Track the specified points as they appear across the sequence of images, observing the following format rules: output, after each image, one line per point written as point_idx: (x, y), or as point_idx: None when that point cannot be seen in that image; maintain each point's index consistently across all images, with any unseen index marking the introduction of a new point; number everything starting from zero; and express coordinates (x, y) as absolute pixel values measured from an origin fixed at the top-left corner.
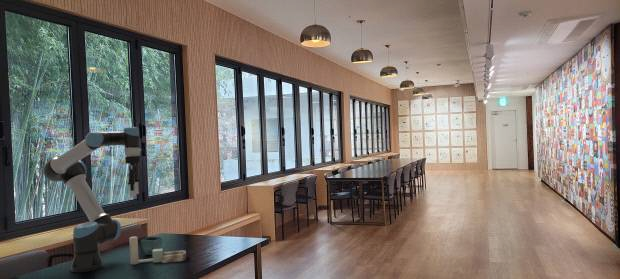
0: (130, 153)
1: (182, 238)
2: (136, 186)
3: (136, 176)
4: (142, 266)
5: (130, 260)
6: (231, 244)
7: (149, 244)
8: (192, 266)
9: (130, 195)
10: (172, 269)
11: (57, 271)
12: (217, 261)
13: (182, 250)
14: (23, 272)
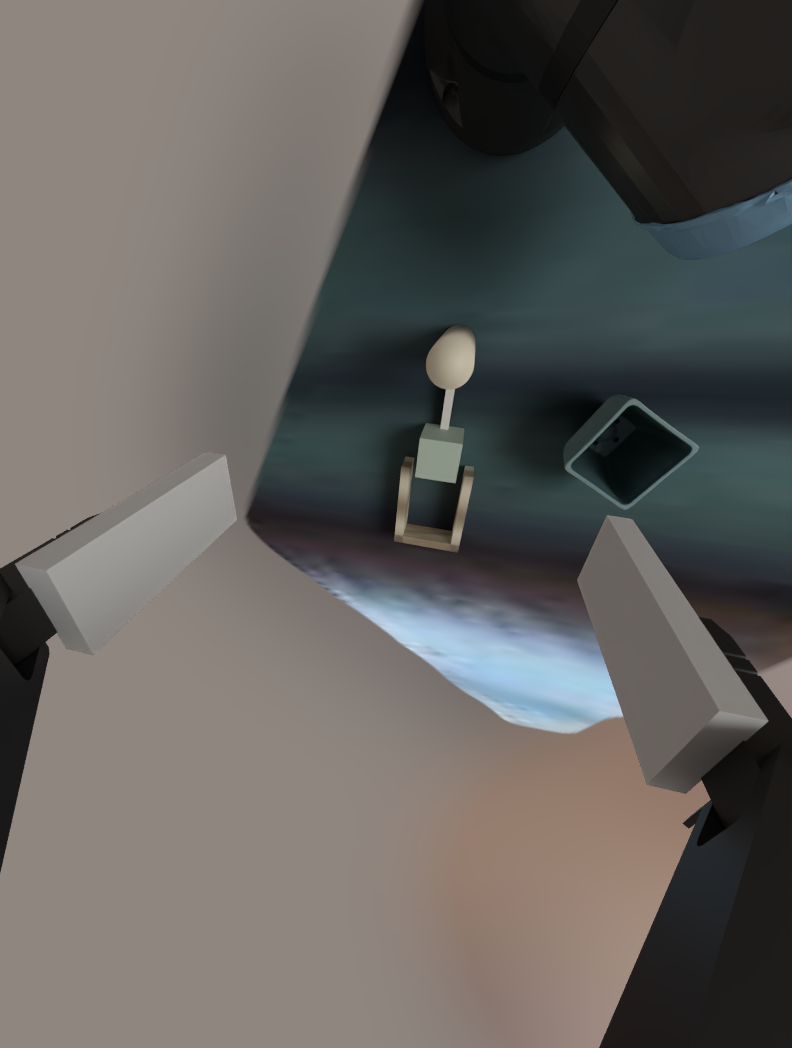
0: None
1: None
2: (624, 659)
3: (629, 1006)
4: (393, 379)
5: (454, 326)
6: (531, 672)
7: (584, 435)
8: (316, 532)
9: (193, 466)
10: (304, 477)
11: None
12: (342, 594)
13: (458, 542)
14: None
